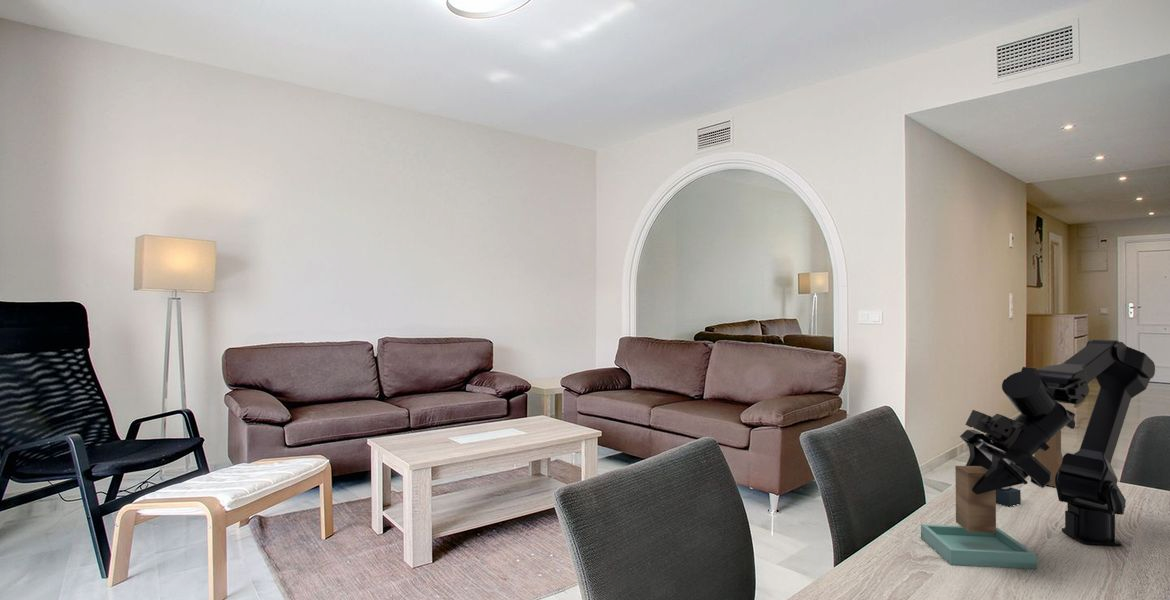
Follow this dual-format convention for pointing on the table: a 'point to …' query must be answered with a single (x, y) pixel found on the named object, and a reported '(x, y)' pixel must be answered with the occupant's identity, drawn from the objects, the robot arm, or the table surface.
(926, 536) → the tray
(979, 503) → the tall brown wood pillar
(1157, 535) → the table surface
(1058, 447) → the wooden block
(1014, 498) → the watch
